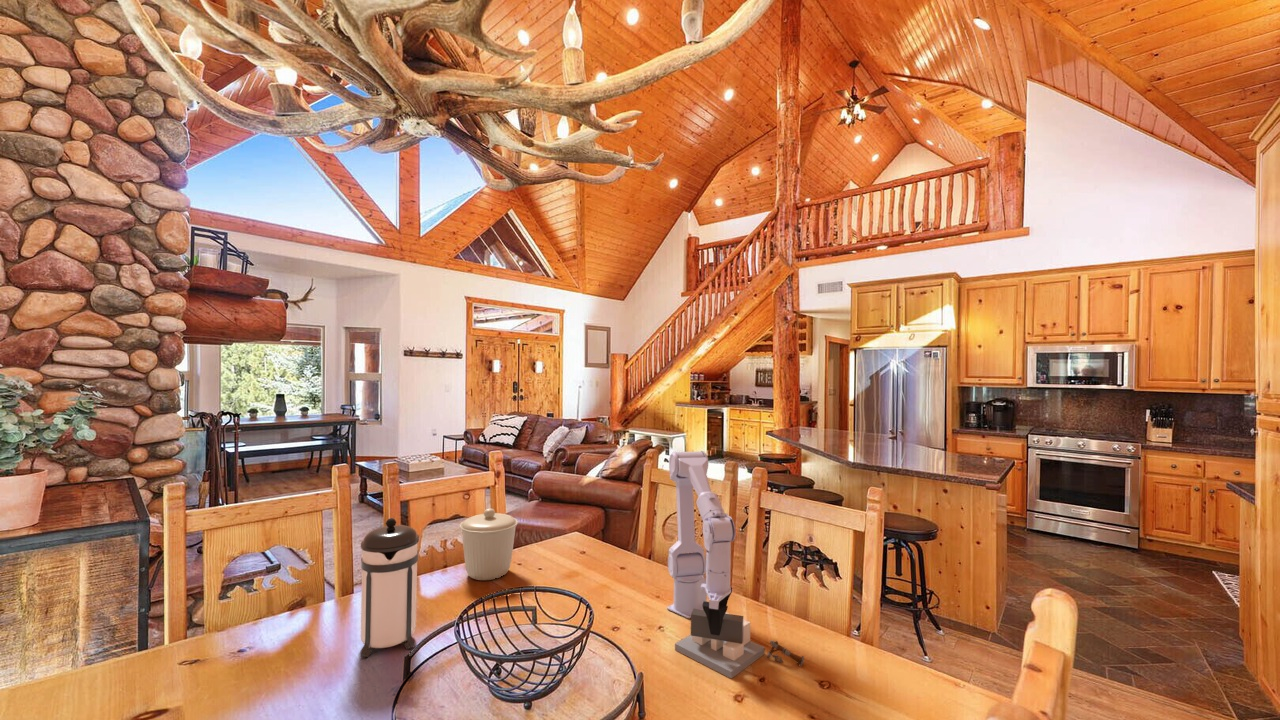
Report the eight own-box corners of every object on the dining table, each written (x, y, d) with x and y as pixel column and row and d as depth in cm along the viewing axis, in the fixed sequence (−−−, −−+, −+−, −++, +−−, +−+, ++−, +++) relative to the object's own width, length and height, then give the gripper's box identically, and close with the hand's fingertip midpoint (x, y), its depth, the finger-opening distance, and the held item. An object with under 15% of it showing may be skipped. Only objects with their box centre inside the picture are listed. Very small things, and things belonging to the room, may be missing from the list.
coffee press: (438, 633, 129) (441, 513, 130) (383, 666, 115) (385, 531, 115) (390, 618, 137) (392, 504, 137) (332, 647, 122) (334, 520, 122)
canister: (465, 564, 174) (466, 501, 174) (520, 562, 176) (521, 500, 176) (452, 587, 156) (453, 517, 156) (513, 585, 158) (514, 516, 158)
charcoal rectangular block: (693, 629, 125) (693, 608, 125) (743, 637, 122) (743, 616, 122) (690, 635, 122) (691, 614, 122) (742, 643, 119) (742, 622, 119)
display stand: (709, 629, 133) (710, 605, 133) (764, 653, 122) (765, 628, 122) (674, 649, 123) (675, 624, 123) (731, 678, 112) (731, 651, 112)
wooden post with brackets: (763, 652, 121) (771, 636, 121) (795, 672, 119) (804, 655, 119) (763, 657, 119) (771, 640, 119) (795, 676, 117) (804, 659, 117)
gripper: (706, 555, 130) (705, 609, 130) (696, 578, 116) (695, 638, 116) (734, 559, 128) (733, 614, 128) (727, 582, 114) (726, 644, 114)
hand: (717, 626), depth 122 cm, fingers open, 7 cm apart
